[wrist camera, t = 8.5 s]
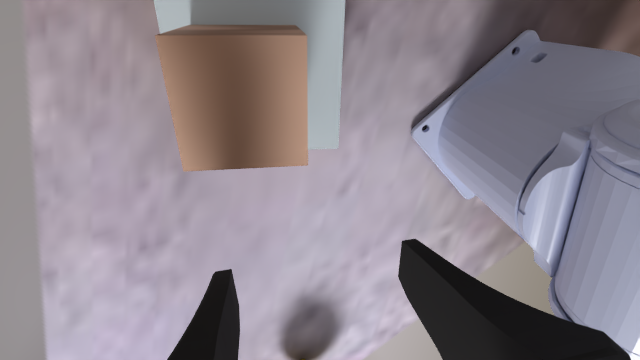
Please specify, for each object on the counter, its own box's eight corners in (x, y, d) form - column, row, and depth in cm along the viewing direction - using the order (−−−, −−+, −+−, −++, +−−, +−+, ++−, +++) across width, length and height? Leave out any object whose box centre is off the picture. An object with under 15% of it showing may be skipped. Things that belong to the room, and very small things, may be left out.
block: (295, 24, 15) (307, 35, 10) (297, 122, 17) (307, 165, 12) (190, 24, 14) (155, 35, 10) (206, 125, 16) (183, 171, 12)
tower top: (336, -23, 16) (346, -27, 14) (330, 132, 20) (338, 148, 18) (165, -28, 15) (147, -33, 13) (193, 136, 19) (183, 153, 17)
